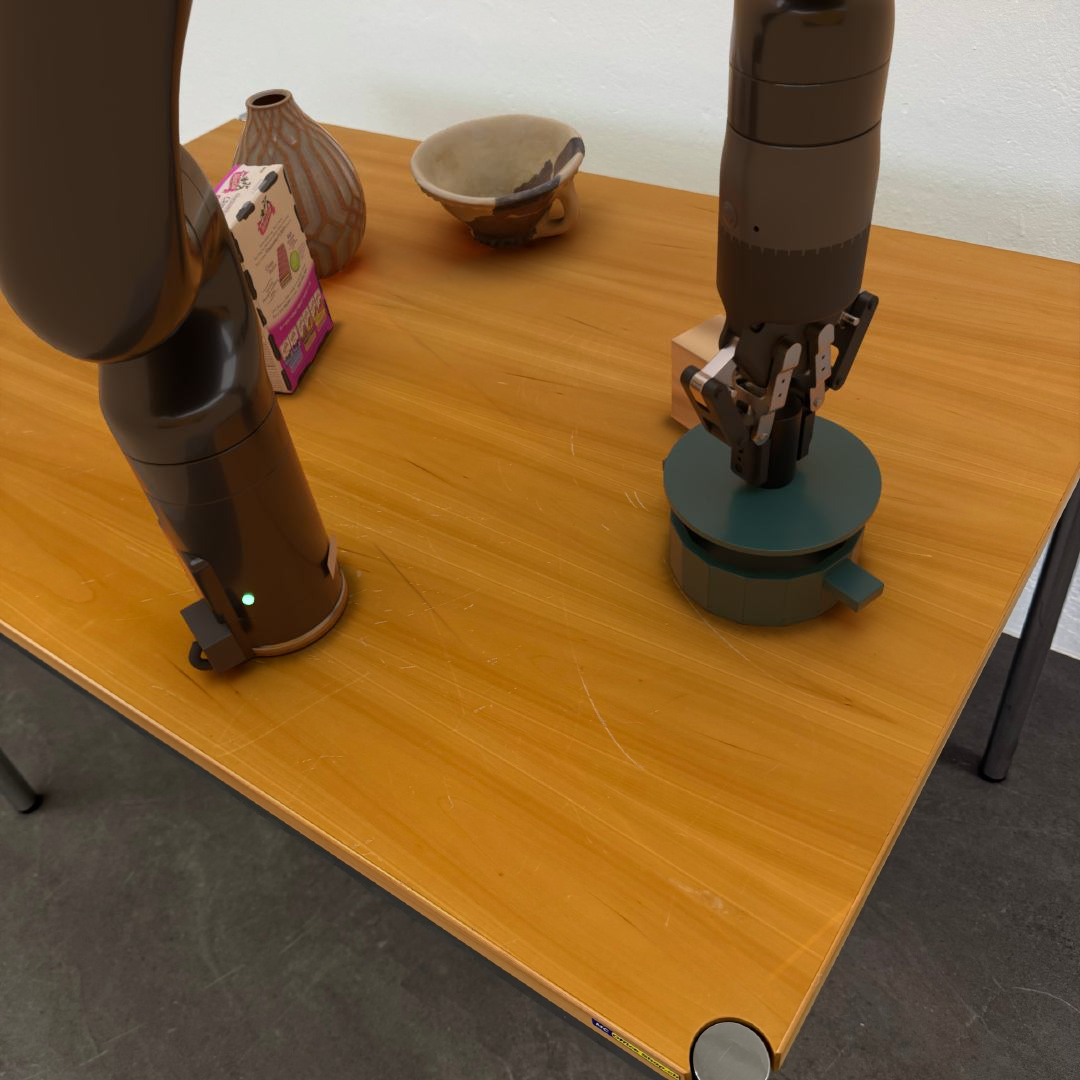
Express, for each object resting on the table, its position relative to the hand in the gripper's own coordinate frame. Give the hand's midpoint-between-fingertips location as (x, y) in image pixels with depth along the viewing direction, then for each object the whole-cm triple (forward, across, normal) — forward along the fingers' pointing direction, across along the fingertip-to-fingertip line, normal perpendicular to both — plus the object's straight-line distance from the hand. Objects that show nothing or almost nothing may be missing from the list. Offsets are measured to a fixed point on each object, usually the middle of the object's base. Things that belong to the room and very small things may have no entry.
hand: (770, 464), depth 60 cm
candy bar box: (+9, -14, +47) cm, 50 cm away
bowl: (+9, +14, +51) cm, 54 cm away
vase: (+9, -4, +61) cm, 62 cm away
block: (+9, +8, +13) cm, 18 cm away
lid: (+1, 0, 0) cm, 1 cm away
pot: (+9, 0, 0) cm, 9 cm away
